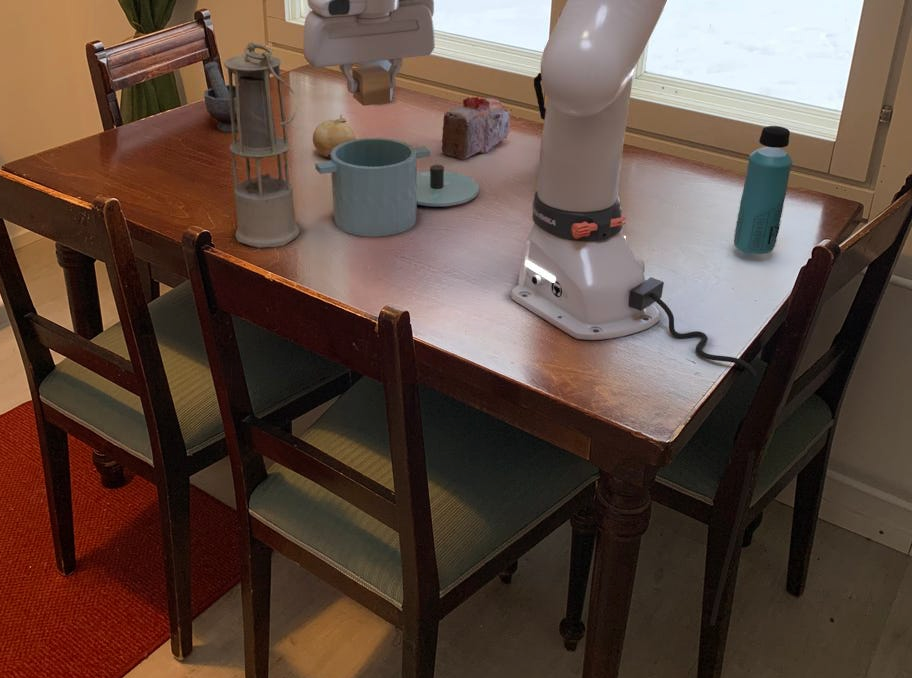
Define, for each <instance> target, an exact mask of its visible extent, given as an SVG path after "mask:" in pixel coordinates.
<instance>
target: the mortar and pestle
mask: <svg viewBox="0 0 912 678" xmlns="http://www.w3.org/2000/svg"><path fill="white" fill-rule="evenodd" d="M218 66H219V65H218V62H217V61H209V62H207V63H206V64H205V65H203V69H204V70H205V71H206V72H207V75H208V78H209V81H210V84H211V88H208V89H205V90H204V95H203V96H204V97H203V98H204V104H205V107H206V110H207V112H208V114H209V115H210V116H211V118H213V119H214V120H216V128H217V130H220V131H222V132H232V123H231V111H230V91H229V84H226V82H225V81H224V79H223V76H222V73H221V72H220V70H219V67H218ZM233 97H234V114H235V128H236V132H238V125H237V106H236V87H235V84H233ZM239 104H240V97H239ZM240 119H241V109H240ZM241 131H242V124H241Z"/></svg>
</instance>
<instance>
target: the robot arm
mask: <svg viewBox="0 0 912 678" xmlns="http://www.w3.org/2000/svg"><path fill="white" fill-rule="evenodd" d="M668 2H669V0H567V1H566V2H565V5H564V7H563V9H562V11H561V13H560V15H559V18H558V19H557V21H556V23H555V26H554V27H553V29H552V32H551V34H550V36H549V38H548V40H547V42H546V44H545V46H544V49H543V51H542V54H541V59H540V73H541V86H542V90H543V91H544V94H545V96H546V98H547V99H546V105H545V109H546V113H545V120H544V121H543V127H542V132H541V138H540V152H539V164H538V166H539V167H538V180H537V190H536V191H535V192H534V196H533V201H532V221H533V222H534V223H533V225H532V228H531V231H530V233H529V235H528V236H527V239H526V240H525V242H524V244H523V245H524V246H523V250H522V257H521V263H520V269H519V276H518V282H517V284H516V285H515V286H514V287H513V288H512V289H511V293H510V299H511V300H512V301H514V302H515V303H517V304H519V305H521V306H522V307H524V308H526V309H527V310H529V311H530V312H531V313H533V314H535V315H537V316H539V317H540V318H542V319H543V320H545V321H547V322H548V323H550V324H551V325H553V326H554V327H556V328H558V329H559V330H561V331H562V332H564V333H566V334H567V335H569V336H570V337H572V338H573V339H576V340H583V341H584V340H585V341H598V340H609V339H614V338H620V337H621V338H622V337H624V336H625V337H626V336H629V335H632V334H636V333H640V332H643V331H645V330H647V329H649V328H651V327H653V326H655V325H656V324H657V323H658V322H659V321H660V320H661V313H660V311H659V310H658V308H657V307H656V306H655V305H654V303H656V304H657V305H659V307H660V308H661V309H663V311H664V312H665V314H666V315H667V318H668V330H669V333H670V334H671V335H672V336H673V337H674V338H676V339H679V340H680V339H681V340H682V339H689V338H695V337H699V338H701V340H700V341H699V342H697V344H696V346H695V352H696V354H697V355H698V356H699V357H701V358H703V359H706V360H711V361H716V362H726V363H732V364H736V365H739V366H741V367H743V368H744V369H745V370H746V371H747V372H748V373H749V375H750V376H752V377H756V378H757V377H758V373H757V372H756V370H755V369H754V368H753V366H752V365H750V364H749V363H748V362H747V361H745V360H744V359H741V358H738V357H733V356H728V355H719V354H717V355H716V354H711V353H707V352H705V351H704V350H702V348H703V347H704V346H705V344H707V342H708V336H707V334H706V333H704V332H703V331H700V330H699V331H698V330H697V331H689V332H683V333H680V332H677V330H676V329H675V317H674V314H673V312H672V310H671V309H670V307H669V306H668V305H667V304H666V302H664V301H663V300H662V295H663V290H664V285H665V281H662V280H660V279H657V278H655V277H648V278H647V279H646V277H645V274H644V273H645V270H646V266H645V261H644V259H642V258H636V256H635V254H634V252H633V251H632V249H631V246H630V245H629V242H628V240H627V239H626V235H624V233H623V231H622V229H623V226H624V225H627V223H626V222H623V221H624V220H627V216H622V206H621V201H620V197H619V195H618V193H619V185H620V184H619V183H620V178H621V168H622V162H623V161H622V159H623V153H624V143H625V137H626V136H625V135H626V130H627V121H628V115H629V109H630V101H631V93H632V86H633V80H634V71H635V68H636V66H637V65H638V62H639V60H640V59H641V57H642V54H643V52H644V50H645V49H646V46H647V45H648V42H649V40H650V39H651V36H652V34H653V32H654V30H655V28H656V26H657V25H658V22H659V20H660V18H661V16H662V14H663V12H664V10H665V8H666V6H667V4H668ZM307 5H308V7H309V8H310V9H311V11H309V12H308V13H307V15H306V16H305V19H304V25H303V45H302V46H303V57H304V59H305V60H306V62H307V63H308V64H309V65H310V66H312V67H314V68H315V69H320V68H329V67H337V66H339V70H340V71H341V73H342V74H343V77H344V78H345V79H346V85H347V86H346V88H347V91H348V92H349V94H353V93H356V92H360V88H359V87H360V81H359V80H357V79H356V78H353V77H352V74H351V72H352V70H353V68H354V64H361V63H364V62H373V61H381V60H389V62H390V63H391V66H390V69H389V71H388V72H389V73H390V88H393V89H395V88H396V77H397V76H398V74H399V73H400V70H401V68H402V66H403V59H407V58H414V57H415V58H416V57H424V56H430V55H431V54H432V53H433V52H434V50H435V48H436V40H435V38H436V37H435V28H434V27H435V26H434V21H433V16H434V13H435V1H434V0H307ZM755 454H756V449H754V450H750V451H749V452H748V458H747V464H746V469H745V475H744V479H743V485H742V490H741V493H740V494H741V495H740V499H739V503H738V508H737V512H736V515H735V519H734V524H733V528H732V532H731V535H730V539H729V542H728V547H727V551H726V554H725V558H724V562H723V565H722V566H723V567H722V570H721V574H720V579H719V582H718V587H717V590H716V595H715V599H714V604H713V607H712V612H711V617H710V622H709V625H710V626H713V627H714V626H715V625H716V621H717V616H718V612H719V608H720V604H721V603H720V602H721V599H722V596H723V595H722V594H723V590H724V586H725V583H726V579H727V574H728V570H729V567H730V563H731V559H732V556H733V552H734V548H735V544H736V541H737V536H738V532H739V529H740V524H741V521H742V517H743V513H744V509H745V505H746V500H747V495H748V491H749V486H750V482H751V476H752V471H753V466H754V461H755Z"/></svg>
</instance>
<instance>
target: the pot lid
mask: <svg viewBox="0 0 912 678" xmlns="http://www.w3.org/2000/svg"><path fill="white" fill-rule="evenodd" d="M479 190H480V186H479V183H478V182H477V181H476V180H475V179H473V178H472V177H470V176H468V175H466V174H462V173H458V172H454V171H445V166H443V165H441V164H433V165H430V167H429V170H427V171H426V170H425V171H419V172H418V171H417V206H423V207H424V206H425V207H451V206H457V205H461V204H465V203H467V202H470V201H472V200H473V199H475V198H476V197H477V196H478V195H479Z"/></svg>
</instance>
